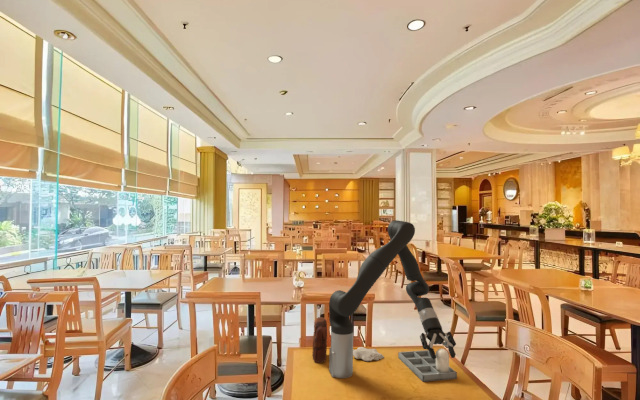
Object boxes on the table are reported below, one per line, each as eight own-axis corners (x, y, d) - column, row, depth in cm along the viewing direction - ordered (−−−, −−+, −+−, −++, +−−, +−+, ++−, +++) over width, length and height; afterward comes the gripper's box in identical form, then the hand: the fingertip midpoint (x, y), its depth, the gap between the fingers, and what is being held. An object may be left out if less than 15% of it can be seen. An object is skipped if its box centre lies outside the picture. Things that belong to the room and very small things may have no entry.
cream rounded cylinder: (439, 377, 135) (440, 351, 136) (433, 371, 140) (433, 346, 141) (451, 376, 136) (451, 351, 137) (444, 370, 141) (444, 346, 142)
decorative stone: (353, 363, 149) (386, 365, 150) (354, 355, 149) (387, 357, 150) (349, 350, 160) (379, 352, 161) (350, 342, 160) (381, 345, 161)
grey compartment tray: (422, 381, 132) (422, 375, 133) (398, 357, 154) (398, 352, 155) (456, 378, 135) (456, 372, 136) (428, 355, 157) (428, 350, 158)
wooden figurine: (312, 352, 159) (312, 314, 159) (325, 352, 159) (326, 314, 160) (312, 363, 147) (313, 322, 148) (327, 363, 147) (328, 322, 148)
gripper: (418, 317, 145) (432, 355, 134) (447, 316, 148) (463, 352, 137) (412, 325, 150) (425, 362, 139) (441, 324, 153) (456, 360, 142)
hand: (444, 357), depth 138 cm, fingers open, 8 cm apart
